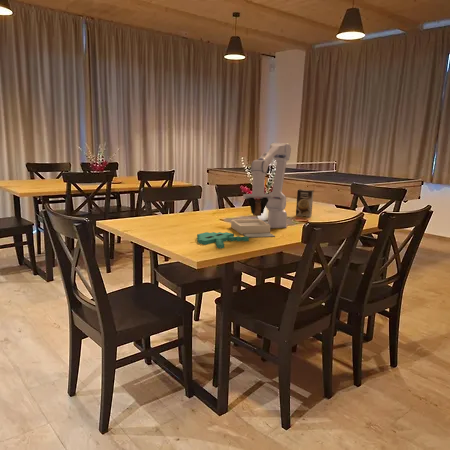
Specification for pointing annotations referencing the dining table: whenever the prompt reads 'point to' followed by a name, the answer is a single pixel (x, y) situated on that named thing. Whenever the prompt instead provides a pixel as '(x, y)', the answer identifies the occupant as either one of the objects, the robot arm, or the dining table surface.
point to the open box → (250, 226)
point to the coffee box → (304, 203)
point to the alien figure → (218, 238)
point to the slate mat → (258, 235)
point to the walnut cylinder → (257, 209)
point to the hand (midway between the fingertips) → (257, 213)
